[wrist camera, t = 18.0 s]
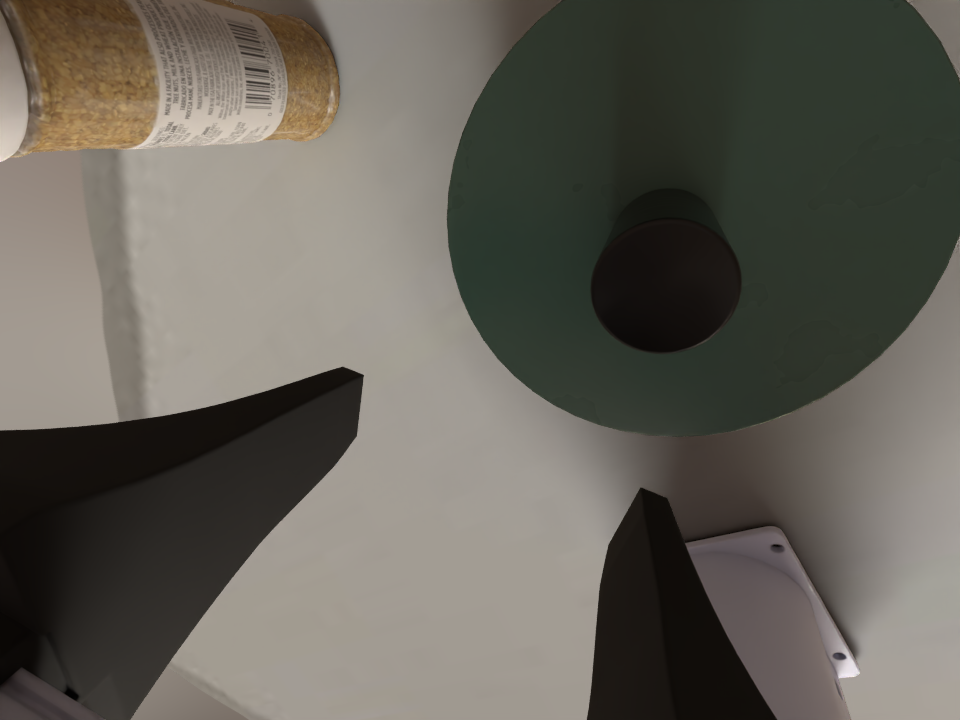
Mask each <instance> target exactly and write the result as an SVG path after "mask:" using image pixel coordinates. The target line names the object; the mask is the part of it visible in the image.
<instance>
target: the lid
mask: <svg viewBox="0 0 960 720" xmlns="http://www.w3.org/2000/svg"><path fill="white" fill-rule="evenodd" d="M447 228H448V243H449V251H450V256H451V262H452V267H453V272H454V276H455V279H456V282H457V285H458V289H459V292H460V295H461V298H462V300H463V302H464V304H465V307H466V309H467V311H468V313H469V316H470V318H471V320H472V321H473V323H474V325H475V327H476V328H477V330H478V332H479V333H480V335H481V337H482V338H483V340H484V341H485V343H486V344H487V345H488V346H489V348H490V349H491V350H492V352H493V353H494V354H495V356H496V357H497V358H498V359H499V360H500V362H501V363H502V364H503V365H504V366H505V367H506V368H507V369H508V370H509V371H510V372H511V373H512V374H513V375H514V376H515V377H516V378H517V379H519V380H520V381H521V382H522V383H524V384H525V385H526V386H527V387H528V388H530V389H531V390H532V391H533V392H535V393H536V394H538V395H539V396H541V397H542V398H544V399H545V400H547V401H548V402H550V403H552V404H553V405H555V406H557V407H559V408H561V409H563V410H565V411H567V412H569V413H571V414H573V415H575V416H577V417H580V418H582V419H585V420H588V421H590V422H593V423H595V424H598V425H601V426H605V427H609V428H613V429H617V430H620V431H625V432H631V433H638V434H644V435H652V436H672V437H683V436H702V435H711V434H718V433H724V432H730V431H736V430H740V429H744V428H748V427H751V426H755V425H759V424H763V423H766V422H769V421H771V420H774V419H777V418H779V417H782V416H785V415H787V414H790V413H793V412H795V411H797V410H799V409H801V408H803V407H805V406H807V405H809V404H811V403H813V402H815V401H817V400H819V399H821V398H823V397H825V396H826V395H828V394H829V393H831V392H832V391H834V390H836V389H837V388H839V387H840V386H842V385H843V384H845V383H846V382H848V381H850V380H851V379H853V378H854V377H855V376H856V375H857V374H859V373H860V372H861V371H862V370H864V369H865V368H866V367H867V366H869V365H870V364H871V363H872V362H873V361H875V360H876V359H877V358H878V357H880V356H881V355H882V354H883V352H884V351H885V350H886V349H887V348H888V347H889V346H890V345H891V344H892V343H893V342H894V341H895V340H896V339H897V338H898V337H899V336H900V335H901V334H902V333H903V332H904V331H905V330H906V328H907V327H908V326H909V324H910V323H911V322H912V321H913V319H914V318H915V317H916V315H917V314H918V313H919V311H920V310H921V309H922V307H923V306H924V305H925V304H926V302H927V301H928V299H929V297H930V296H931V294H932V292H933V290H934V289H935V287H936V285H937V283H938V282H939V280H940V278H941V276H942V275H943V273H944V271H945V270H946V268H947V265H948V263H949V260H950V258H951V255H952V253H953V250H954V248H955V245H956V243H957V240H958V238H959V235H960V81H959V77H958V75H957V73H956V71H955V69H954V67H953V65H952V63H951V61H950V59H949V57H948V55H947V53H946V51H945V49H944V47H943V45H942V43H941V41H940V40H939V38H938V37H937V36H936V35H935V33H934V32H933V31H932V29H931V28H930V27H929V25H928V24H927V23H926V22H925V20H924V19H923V18H922V16H921V15H920V14H919V13H918V11H917V10H916V9H915V8H914V7H913V6H912V5H911V4H910V3H908V2H907V1H906V0H562V1H561V2H560V3H559V4H557V5H556V6H555V7H554V8H552V9H551V10H550V11H549V12H548V13H546V14H545V15H544V16H543V17H541V18H540V19H539V20H538V21H537V22H536V23H535V24H534V25H533V26H532V27H531V28H530V29H529V30H528V31H527V32H526V34H525V35H524V36H523V37H522V38H521V39H520V40H519V41H518V42H517V43H516V44H515V45H514V46H513V47H512V49H511V50H510V51H509V53H508V54H507V55H506V57H505V58H504V59H503V61H502V62H501V63H500V65H499V66H498V67H497V69H496V70H495V71H494V73H493V74H492V75H491V77H490V79H489V81H488V82H487V84H486V86H485V87H484V89H483V91H482V93H481V94H480V96H479V98H478V100H477V101H476V103H475V105H474V107H473V110H472V112H471V114H470V117H469V119H468V121H467V124H466V126H465V128H464V131H463V133H462V136H461V139H460V143H459V146H458V149H457V153H456V156H455V159H454V163H453V169H452V174H451V180H450V186H449V192H448V210H447Z"/></svg>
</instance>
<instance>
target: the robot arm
mask: <svg viewBox="0 0 960 720" xmlns="http://www.w3.org/2000/svg"><path fill="white" fill-rule="evenodd" d="M363 377H364V375H362V374H360V373H357V372H355V371H352V370H350V369H348V368H345V367H340V368H337V369H333V370H330V371H327V372H324V373H320V374H317V375H314V376H311V377H308V378H305V379H302V380H299V381H296V382H293V383H290V384H287V385H284V386H281V387H278V388H275V389H271V390H268V391H265V392H262V393H258V394H255V395H251V396H247V397H244V398H240V399H237V400H233V401H229V402H226V403H222V404H218V405H214V406H210V407H206V408H201V409H197V410H192V411H187V412H182V413H177V414H172V415H166V416H160V417H153V418H146V419H139V420H132V421H125V422H118V423H110V424H101V425H91V426H81V427H67V428H53V429H37V430H4V431H0V720H130V719H131V718H132V716H133V715H134V713H135V712H136V710H137V709H138V707H139V706H140V704H141V703H142V701H143V700H144V698H145V697H146V696H147V694H148V693H149V691H150V690H151V688H152V687H153V685H154V684H155V682H156V681H157V680H158V678H159V677H160V675H161V674H162V672H163V671H164V669H165V668H166V666H167V665H168V664H169V662H170V661H171V659H172V658H173V656H174V655H175V654H176V652H177V651H178V649H179V648H180V647H181V645H182V644H183V643H184V641H185V640H186V638H187V637H188V636H189V634H190V633H191V632H192V630H193V629H194V627H195V626H196V625H197V623H198V622H199V621H200V619H201V618H202V616H203V615H204V614H205V612H206V611H207V610H208V609H209V607H210V606H211V605H212V603H213V602H214V601H215V599H216V598H217V597H218V596H219V594H220V593H221V592H222V590H223V589H224V588H225V586H226V585H227V584H228V582H229V581H230V580H231V579H232V577H233V576H234V575H235V574H236V572H237V571H238V570H239V569H240V567H241V566H242V565H243V564H244V562H245V561H246V560H247V559H248V557H249V556H250V555H251V554H252V552H253V551H254V550H255V549H256V547H257V546H258V545H259V544H260V543H261V542H262V541H263V539H264V538H265V537H266V536H267V535H268V534H269V533H270V532H271V531H272V529H273V528H274V527H275V526H276V525H277V524H278V523H279V522H280V521H281V520H282V519H283V518H284V517H285V516H286V515H287V514H288V513H289V512H290V511H291V510H292V509H293V508H294V507H295V506H296V505H297V504H298V503H299V502H300V501H301V500H302V499H303V498H304V497H305V496H306V495H307V494H308V493H309V492H310V491H311V490H312V489H313V488H314V487H315V486H316V485H317V484H318V483H319V482H320V480H321V479H322V478H323V477H324V476H325V475H326V474H327V473H328V472H329V471H330V470H331V469H332V468H333V467H334V466H335V464H336V463H337V462H338V461H339V459H340V458H341V457H342V455H343V454H344V453H345V451H346V450H347V449H348V447H349V446H350V444H351V443H352V442H353V440H354V439H355V438H356V436H357V429H358V420H359V412H360V403H361V394H362V386H363ZM774 544H779V545H780V546H772V545H774ZM859 673H860V669H859V666H858V663H857V661H856V660H855V658H854V656H853V654H852V653H851V651H850V649H849V647H848V645H847V644H846V642H845V640H844V638H843V637H842V635H841V633H840V631H839V630H838V628H837V626H836V624H835V623H834V621H833V619H832V617H831V616H830V614H829V612H828V610H827V609H826V607H825V605H824V603H823V601H822V600H821V598H820V596H819V594H818V593H817V591H816V589H815V587H814V586H813V584H812V582H811V580H810V579H809V577H808V575H807V573H806V572H805V570H804V568H803V566H802V565H801V563H800V561H799V559H798V558H797V556H796V554H795V552H794V550H793V549H792V547H791V545H790V543H789V542H788V540H787V538H786V536H785V535H784V533H783V532H782V530H781V529H779V528H777V527H774V526H766V527H761V528H756V529H751V530H746V531H742V532H737V533H732V534H727V535H722V536H717V537H713V538H708V539H703V540H698V541H693V542H689V543H685V542H684V539H683V537H682V534H681V532H680V529H679V527H678V524H677V521H676V519H675V516H674V514H673V511H672V508H671V506H670V503H669V501H668V499H667V498H666V497H663V496H661V495H658V494H656V493H653V492H651V491H648V490H646V489H643V488H640V489H639V491H638V493H637V495H636V497H635V498H634V500H633V502H632V504H631V506H630V507H629V509H628V511H627V513H626V515H625V516H624V518H623V520H622V522H621V523H620V525H619V527H618V529H617V531H616V532H615V534H614V536H613V538H612V540H611V541H610V543H609V545H608V550H607V554H606V559H605V563H604V568H603V573H602V578H601V583H600V591H599V602H598V613H597V625H596V637H595V650H594V662H593V674H592V686H591V695H590V703H589V710H588V716H587V720H851V717H850V714H849V711H848V708H847V705H846V702H845V698H844V695H843V692H842V689H841V686H840V682H839V679H838V678H844V677H855V676H857V675H859Z"/></svg>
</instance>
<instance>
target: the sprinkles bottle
mask: <svg viewBox="0 0 960 720" xmlns="http://www.w3.org/2000/svg"><path fill="white" fill-rule="evenodd" d="M339 96H340V86H339V76H338V72H337V68H336V65H335V61H334V58H333V55H332V53H331V51H330V49H329V48H328V46H327V44H326V43H325V41H324V40H323V39H322V37H321V36H320V35H319V33H318V32H317V31H315V30H314V29H313V28H312V27H311V26H310V25H308V24H307V23H306V22H305V21H303V20H301V19H299V18H297V17H292V16H288V15H284V14H280V15H277V16H275V15H272V14H269V13H265V12H262V11H258V10H253V9H250V8H246V7H243V6H240V5H235V4H233V3H231V2H230V1H228V0H0V162H1V161H4V160H6V159H7V158H9V157H21V156H24V155H27V154H29V153H30V152H44V151H45V152H48V151H58V150H65V151H68V150H81V149H85V148H87V149H97V148H99V149H107V148H114V149H125V150H127V149H144V148H161V147H179V146H197V145H217V144H237V143H252V142H258V141H261V140H278V139H291V140H294V141H308V140H311V139H315V138H317V137H320V135H321V134H322V133H324V132H325V131H326V130H327V128H328V127H329V125H330V124H331V123H332V121H333V119H334V116H335V114H336V112H337V108H338V105H339Z"/></svg>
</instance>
